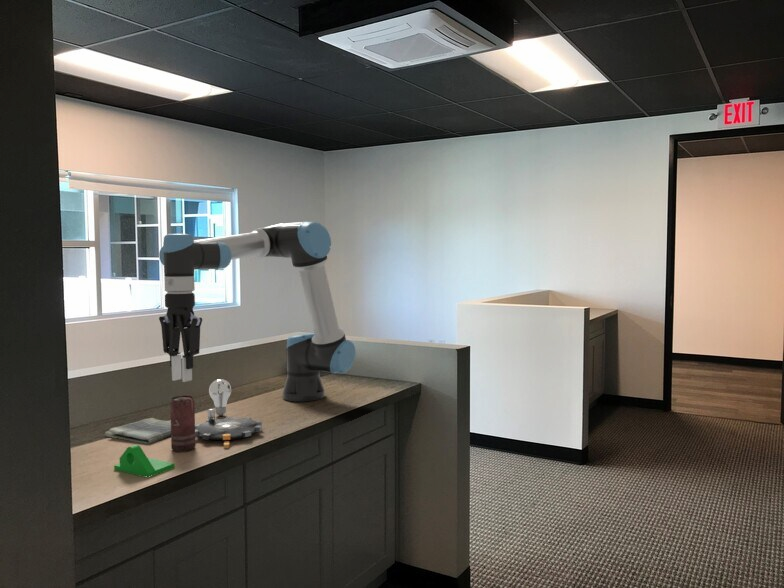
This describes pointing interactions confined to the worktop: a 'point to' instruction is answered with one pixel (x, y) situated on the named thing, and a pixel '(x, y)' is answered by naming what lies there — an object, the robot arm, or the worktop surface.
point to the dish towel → (142, 431)
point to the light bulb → (220, 395)
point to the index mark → (226, 444)
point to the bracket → (141, 463)
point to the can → (182, 423)
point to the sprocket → (226, 427)
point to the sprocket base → (230, 439)
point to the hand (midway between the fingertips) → (182, 380)
